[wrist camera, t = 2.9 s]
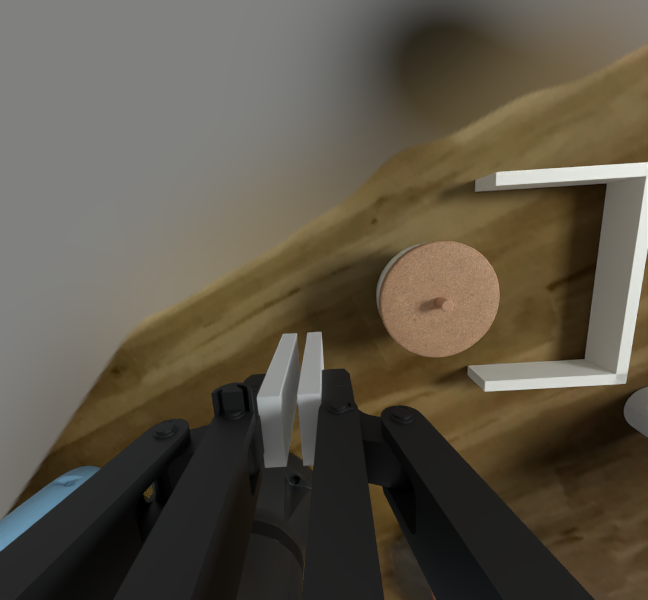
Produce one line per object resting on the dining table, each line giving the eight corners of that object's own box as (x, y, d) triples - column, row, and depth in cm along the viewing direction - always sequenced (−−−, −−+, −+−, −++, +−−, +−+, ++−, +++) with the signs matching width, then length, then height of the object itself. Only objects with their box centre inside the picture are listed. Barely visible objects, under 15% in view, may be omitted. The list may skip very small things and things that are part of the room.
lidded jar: (352, 265, 34) (363, 276, 25) (441, 222, 33) (486, 217, 24) (390, 346, 36) (413, 384, 27) (475, 308, 35) (529, 334, 26)
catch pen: (467, 374, 37) (484, 391, 33) (475, 179, 32) (496, 172, 28) (593, 367, 36) (625, 383, 32) (619, 170, 32) (661, 161, 28)
